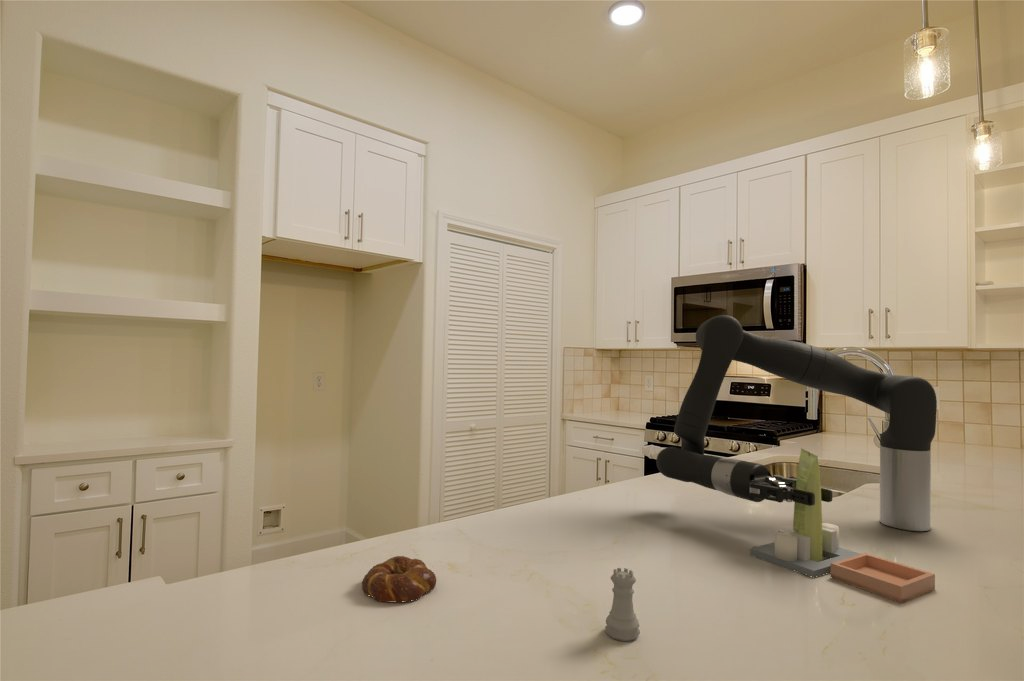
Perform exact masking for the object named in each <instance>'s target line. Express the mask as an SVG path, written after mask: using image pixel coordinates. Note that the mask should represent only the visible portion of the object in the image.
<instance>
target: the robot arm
mask: <svg viewBox="0 0 1024 681" xmlns="http://www.w3.org/2000/svg"><path fill="white" fill-rule="evenodd" d="M695 341H696V344H697V345H698V347H699V349H700V350H701V355H700V359H699V361H698V362H699V363H698V366H697V369H696V372H695V374H694V376H693V378H692V381H691V383H690V385H689V387H688V389H687V391H686V393H685V395H684V398H683V400H682V403H681V405H680V409H679V411H678V415H677V418H676V421H675V424H674V427H673V428H674V429H673V432H674V434H675V435H676V436H677V437H678V438H679V439H680V440H681V441H680V442H681V443H680V445H681V448H679V447H675V446H667V447H665V448H663V449H662V450H660V452H659V453H658V454H657V457H656V459H655V460H656V461H655V462H656V467H657V469H658V471H659V472H660V474H661V475H662V476H664V477H665V478H668V479H672V480H677V481H680V482H684V483H692V484H696V485H699V486H702V487H704V488H707V489H710V490H714V491H716V492H717V491H718V492H720V493H723V494H726V495H729V496H732V497H735V498H740V499H743V500H747V501H750V502H755V503H761V502H763V501H765V500H766V501H772V502H777V503H783V502H787V503H792V502H794V503H795V502H797V503H801V504H805V505H809V506H812V505H814V504H815V495H814V493H811V492H806V491H802V490H798V489H796V482H797V476H796V477H795V476H792V475H791V476H789V477H785V476H783V475H779V474H773V475H772V474H771V473H770V470H769V468H768V467H767V466H766V465H764V464H761V463H756V462H750V461H748V460H747V461H746V460H742V459H737V458H726V457H719V456H715V455H712V454H711V455H710V454H709V455H708V454H705V437H706V434H707V431H708V429H709V428H708V427H709V424H710V421H711V417H712V416H713V413H714V408H715V406H716V402H717V400H718V397H719V392H720V390H721V387H722V384H723V382H724V379H725V377H726V375H727V372H728V370H729V368H730V365H731V363H732V362H733V361H735V362H738V363H742V364H746V365H750V366H753V367H755V368H757V369H760V370H763V371H765V372H767V373H769V374H772V375H774V376H777V377H780V378H782V379H785V380H787V381H790V382H793V383H796V384H800V385H801V386H805V387H808V388H811V389H815V390H819V391H821V392H825V393H826V392H827V393H831V394H835V395H841V396H846V397H848V398H852V399H854V400H856V401H860V402H862V403H864V404H867V405H869V406H871V407H874V408H875V409H877V410H880V411H882V412H884V413H886V414H888V415H889V420H888V421H889V422H888V427H887V428H886V430H884V431H883V432H882V433H880V436H879V522H880V523H881V524H882V525H886V526H888V527H890V528H894V529H895V528H896V529H899V530H904V531H910V532H911V531H912V532H914V531H915V532H927V531H931V518H932V517H931V513H932V512H931V511H932V507H931V505H932V504H931V503H932V502H931V500H932V499H931V494H932V491H931V488H932V487H931V485H932V484H931V481H932V476H931V475H932V474H931V473H932V469H931V468H932V467H931V466H932V464H931V463H932V462H931V460H932V459H931V457H932V456H931V451H932V448H931V447H932V441H933V440H934V438H935V435H936V430H937V429H936V428H937V427H936V425H937V410H938V407H937V404H938V403H937V400H938V399H937V395H936V391H935V389H934V387H933V385H932V384H931V383H930V382H929V381H927V380H926V379H924V378H922V377H918V376H913V375H912V376H911V375H898V374H897V375H896V374H895V375H894V374H887V373H883V372H879V371H874V370H870V369H866V368H863V367H860V366H858V365H856V364H854V363H853V362H850V361H848V360H847V359H845V358H844V357H841V356H839V355H838V354H836V353H834V352H831V351H828V350H827V349H824V348H820V347H817V346H814V345H811V344H807V343H804V342H799V341H795V340H789V339H782V338H775V337H774V338H773V337H766V336H761V335H758V334H754V333H752V332H749V331H746V330H744V329H743V326H742V325H741V323H740V321H739V320H738V319H737V318H735V317H733V316H731V315H726V314H721V315H716V316H713V317H711V318H709V319H706V320H705V321H703V323H701V324H700V325H699V327H698V328H697V330H696V332H695ZM821 502H825V503H831V502H833V490H832V489H829V488H825V487H824V488H823V487H821Z"/></svg>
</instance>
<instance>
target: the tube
mask: <svg viewBox="0 0 1024 681" xmlns="http://www.w3.org/2000/svg"><path fill="white" fill-rule="evenodd" d="M797 465H798V466H797V473H796V478H797V482H796V489H798V490H802V491H806V492H811V493H814V495H815V504H814V505H812V506H809V505H805V504H801V503H797V502H794V505H793V506H794V507H793V521H792V524H793V525H792V527H793V528H792V532H794V533H798V534H801V535H804V536H807V537H810V560H813V561H816V562H820V561H823V556H822V523H823V513H822V511H823V508H822V506H823V505H822V501H821V488H822V485H821V472H820V463H819V456H818V454H815V453H813V452H810V451H809V450H807V449H805V448H803V447H801V448H800V454H799V460H798V464H797Z"/></svg>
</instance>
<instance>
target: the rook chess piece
mask: <svg viewBox="0 0 1024 681" xmlns="http://www.w3.org/2000/svg"><path fill="white" fill-rule="evenodd" d="M610 580H611V581H612V583H613V587H612V588H611V590H612V593H613V598H612V603H611V604H612V605H611V609H610V611H609V614H608V615H607V616H606V619H605V625H606V626H605V627H604V630H605V632H606V634H607V635H608V636H609V637H610V638H611V639H613V640H616V641H620V642H632V641H633V640H636V639H637V638H638V637H639V635H640V633H641V632H640V629H639V627H640V621H639V619H638V618H637V615H636V613H635V610H634V603H633V602H634V601H633V595H634V593H635V591H634V589H633V585H634V584H636V582H637V580H636V578H635V576H634V571H633V570H631V569H629V568H623V571H622V568H621V567H618V568H617V569H616V568H614V569H613V574H612V575H611V576H610Z"/></svg>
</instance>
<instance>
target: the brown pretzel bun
mask: <svg viewBox="0 0 1024 681" xmlns="http://www.w3.org/2000/svg"><path fill="white" fill-rule="evenodd" d="M436 584H437V576H436V574H435V572H433V570H432V569H429V568H428V567H427V566H426V563H425V562H424V561H423V560H422V559H418V558H413V559H412V558H410V557H408V556H405V555H396V556H393V557H390V558H389V559H387V560H386V561H383V562H380V563H378V564H376V565H373V567H372V568H370V569H369V570H368V571H367V573H366V574H365V575H364V577H363V579H362V581H361V589H362V591H363V593H364V594H365V593H366V594H367V595H366V594H365V595H366V596H368V595H370V596H373V597H374V598H373V597H372V598H373V599H375V600H376V599H377V600H376V601H379V600H381V601H380V602H383V601H396V602H395V603H398V602H402V601H411V600H415V601H417V600H419V599H420V597H421V596H422V597H423V596H424V595H425V594H426V593H425V592H429V593H430V591H431V590H432V591H433V590H434V589H435V587H436ZM432 591H431V592H432ZM423 594H424V595H423ZM370 596H369V597H370ZM422 597H421V598H422ZM418 598H419V599H418ZM416 599H417V600H416ZM411 602H412V601H411Z"/></svg>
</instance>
